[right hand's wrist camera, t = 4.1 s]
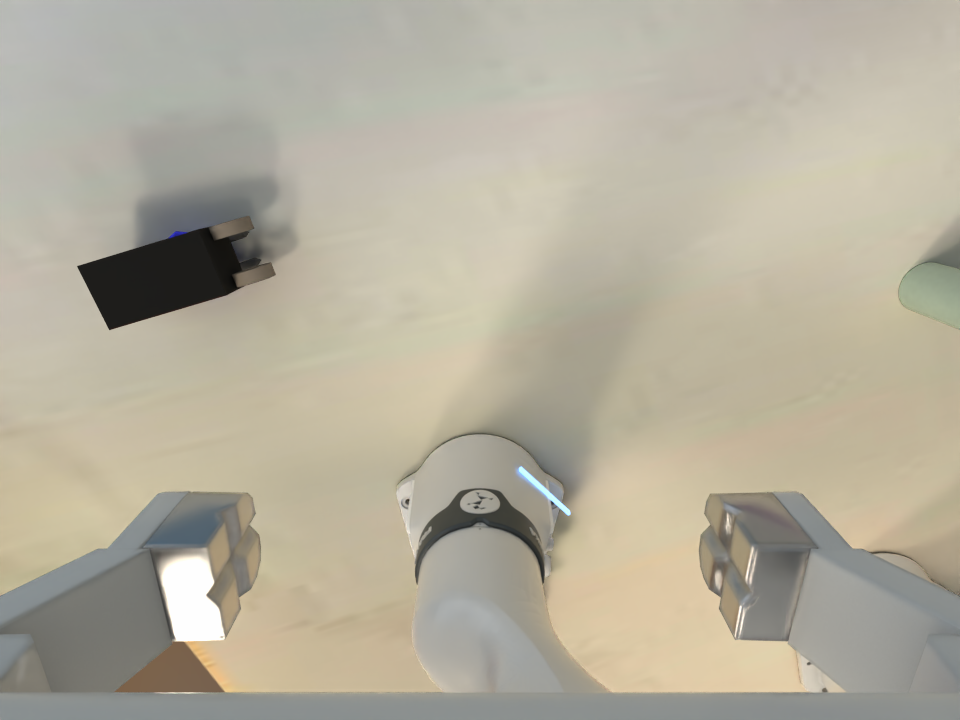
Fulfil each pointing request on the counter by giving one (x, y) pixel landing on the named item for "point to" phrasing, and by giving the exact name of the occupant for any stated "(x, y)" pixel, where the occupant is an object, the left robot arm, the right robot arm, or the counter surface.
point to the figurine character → (172, 273)
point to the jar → (933, 292)
